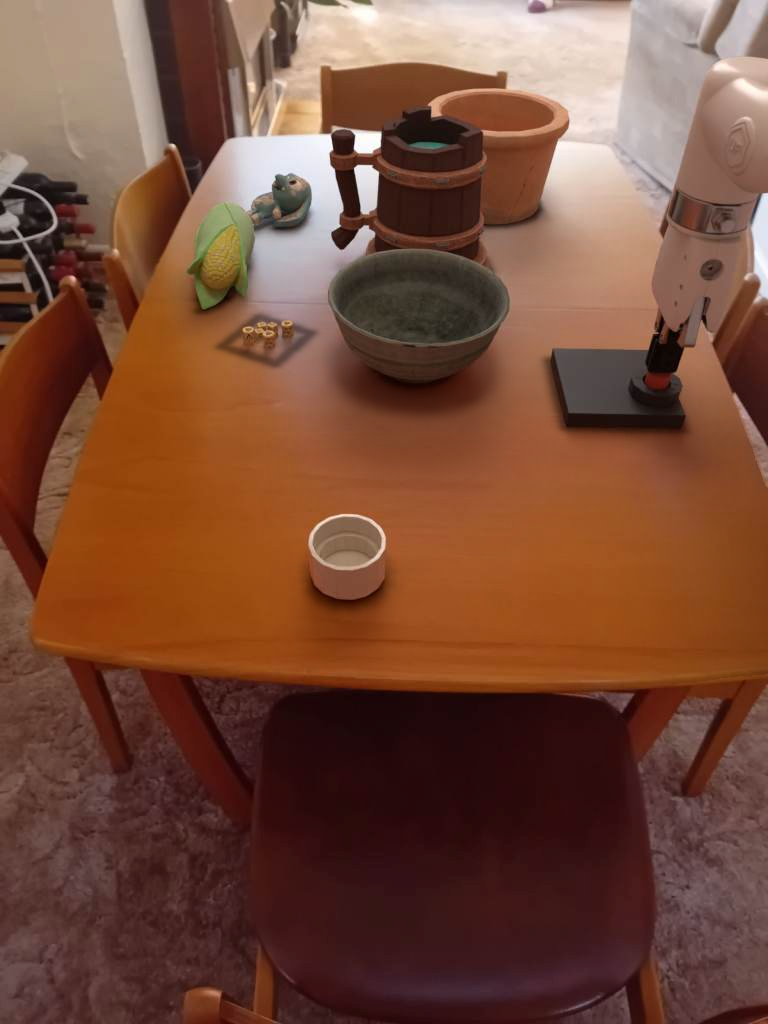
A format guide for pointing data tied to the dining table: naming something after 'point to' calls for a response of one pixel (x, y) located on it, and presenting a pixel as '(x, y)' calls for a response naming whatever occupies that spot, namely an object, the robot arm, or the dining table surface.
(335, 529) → the small bowl
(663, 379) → the tare button
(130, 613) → the dining table surface
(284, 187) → the grey-green animal figurine
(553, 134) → the pottery
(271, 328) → the set of gold cylinders
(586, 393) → the black button base
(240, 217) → the corn
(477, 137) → the mug
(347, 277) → the bowl
